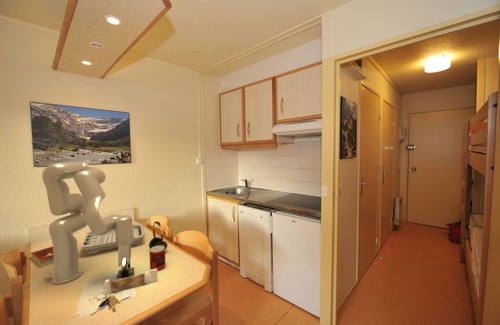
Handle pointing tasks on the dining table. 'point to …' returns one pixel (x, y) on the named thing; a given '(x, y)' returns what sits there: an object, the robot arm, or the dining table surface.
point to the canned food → (157, 258)
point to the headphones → (157, 239)
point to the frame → (148, 275)
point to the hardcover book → (43, 257)
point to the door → (127, 282)
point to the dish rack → (107, 240)
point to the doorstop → (131, 273)
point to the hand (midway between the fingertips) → (126, 273)
